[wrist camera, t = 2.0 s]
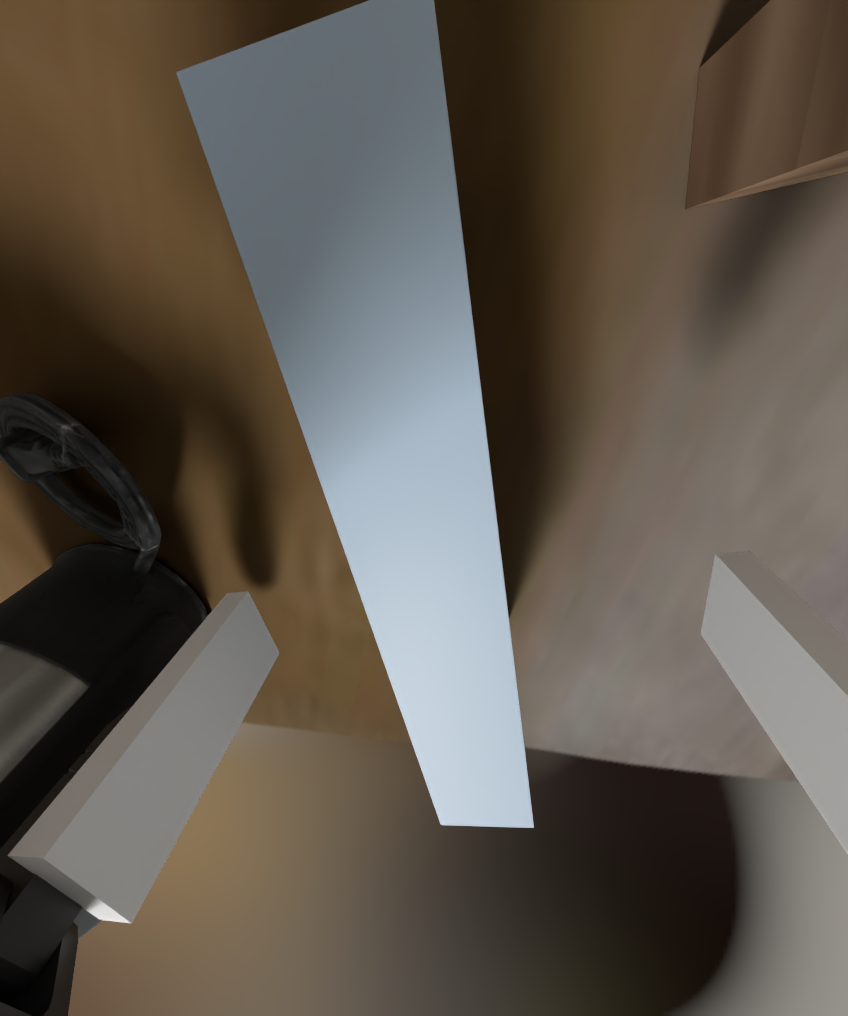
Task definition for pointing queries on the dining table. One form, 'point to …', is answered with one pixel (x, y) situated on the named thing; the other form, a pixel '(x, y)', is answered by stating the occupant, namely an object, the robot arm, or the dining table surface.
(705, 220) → the dining table surface
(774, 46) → the light brown wooden block
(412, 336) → the pale blue flat block
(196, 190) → the dining table surface
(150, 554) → the milk frother
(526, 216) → the dining table surface
